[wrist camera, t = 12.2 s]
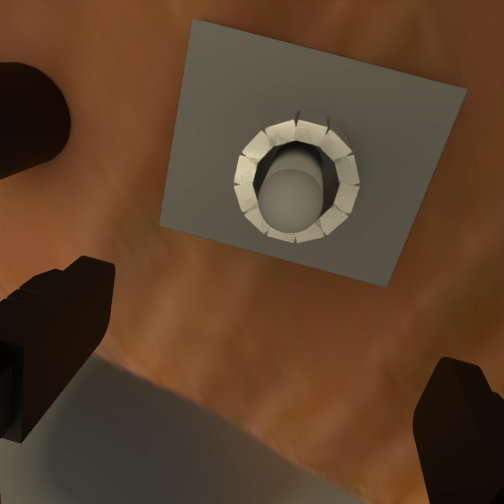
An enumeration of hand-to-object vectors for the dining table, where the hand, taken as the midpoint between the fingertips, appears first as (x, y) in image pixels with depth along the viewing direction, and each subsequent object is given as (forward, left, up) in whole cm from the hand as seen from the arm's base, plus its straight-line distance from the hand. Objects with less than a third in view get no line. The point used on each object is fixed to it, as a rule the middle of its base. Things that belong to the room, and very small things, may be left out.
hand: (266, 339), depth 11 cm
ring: (0, 0, -19) cm, 19 cm away
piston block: (0, 0, -21) cm, 21 cm away
